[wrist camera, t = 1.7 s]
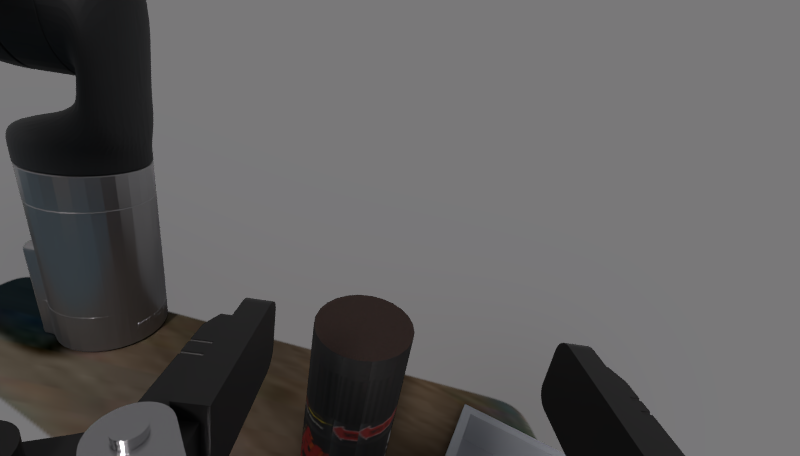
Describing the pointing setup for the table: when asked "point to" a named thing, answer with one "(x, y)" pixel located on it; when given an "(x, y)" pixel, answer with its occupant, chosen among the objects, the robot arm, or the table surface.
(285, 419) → the table surface
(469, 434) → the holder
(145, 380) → the table surface
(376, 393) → the deodorant
